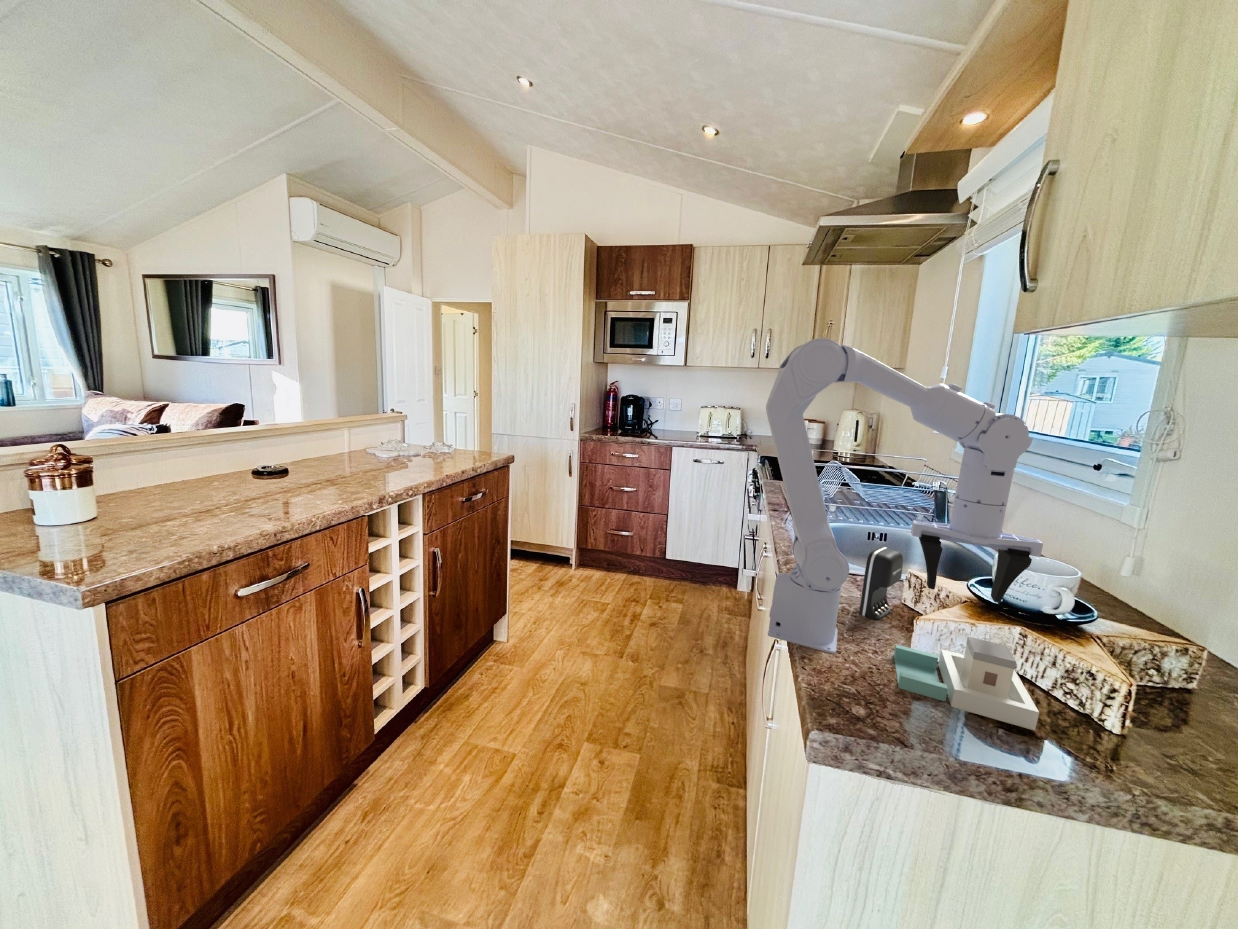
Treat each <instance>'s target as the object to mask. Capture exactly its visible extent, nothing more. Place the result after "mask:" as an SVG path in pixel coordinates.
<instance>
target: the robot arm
mask: <svg viewBox="0 0 1238 929" xmlns="http://www.w3.org/2000/svg"><path fill="white" fill-rule="evenodd" d="M833 383H855V384H859V385H861V386H863V387H865V388H867V389H869V390H872V391H873V392H876V393H879V394H881V395H883V396H885V397H887V398H889V399H891V400H894V401H896V402H898V403H901V404H903V405H905V406H907V407H909V409H910V411H911V415H912V418H913V420H914V421H915V422H917V423H918V424H921V425H923V426H924V427H927V428H929V429H931V430H933V431H934V432H937V433H938V434H941V435H943V436H945V437H948V438H949V439H950V440H953V441H955V442H958V444H959V445H960V447H962V449H963V455H962V458H961V459H962V460H961V464H960V469H959V475H958V480H957V483H956V484H957V485H956V490H955V496H954V499H953V500H954V501H953V508H952V511H951V516H950V517H951V518H950V523H945V522H944V523H943V522H931V521H920V520H912V524H911V529H910V530H911V531H910V533H911V536H912V537H916V538H918V540H919V544H920V546H921V549H922V553H923V556H924V561H925V566H926V568H925V570H926V586H927V589H929V590H935V589H936V584H937V576H938V567H939V564H940V559H941V556H942V553H943V547H942V541H948V542H953V543H959V544H960V543H961V544H966V545H971V546H972V545H973V546H978V547H985V548H990V549H995V550H996V549H997V562H996V571H995V575H994V578H993V579H994V580H993V583H992V586H991V590H990V591H991V592H990V597H991V599H992V600H993V602H994V603H998V604H1001V602H1002V601H1003V598H1004V596H1005V594H1006V593H1007V591H1008V590H1009V588H1010V587H1011V585H1012V584H1013V583H1014V581H1015V580H1016V579H1017V578H1018V577H1019V576H1020V575H1021V574H1022V573H1024V572H1025V571H1026V570H1027V569H1028V568H1029V567H1030V566H1031V564H1032V561H1033V559H1032V558H1031V557H1030V556H1032V557H1038V558H1041V556H1042V550H1043V546H1044V543H1043V542H1042V541H1041V540H1040V539H1037V538H1032V537H1026V536H1022V535H1017V534H1012V533H1007V532H1002V531H1003V525H1004V520H1005V515H1006V511H1007V507H1008V506H1007V505H1008V502H1009V496H1010V491H1011V488H1012V487H1011V486H1012V481H1013V477H1014V473H1015V469H1016V468H1017V462H1018V459H1019V458H1020V456H1022V455H1023V454H1024V453H1025V452H1026V451H1027V450H1028V449H1029V448H1030V446H1031V445H1032V443H1033V440H1034V439H1033V437H1031V436H1030V432H1029V431H1030V430H1029V427H1028V425H1025V424H1026V422H1025V420H1023V419H1022V418H1021V417H1019V416H1017V415H1014V414H1009V413H1000V412H999V413H997V412H996V410H995V408H996V404H994V403H991V402H990V401H984V402H981V401H978V400H977V399H975V398H972V397H970V396H969V395H966V394H964V393H963V392H961V391H962V390H963V387H962V386H960V385H958V384H955V383H948V384H947V385H946V384H944V383H936V384H933V385H929V386H925V385H923V384H921V383H919V382H917V381H916V380H914V379H912V378H911V377H908V376H907V375H904V374H903V373H901V372H899V371H898V370H896V369H894V368H892V367H890V366H888V365H886V364H885V363H883V362H882V361H879V360H878V359H876V358H874V357H872V356H870V355H868V354H866V353H864V352H862V351H860V350H858V349H855V348H854V347H851V346H849V345H848V346H847V345H844V344H843V345H840V343H838V342H836V341H835V340H833V339H830V338H827V337H819V338H814V339H811V340H809V341H807V342H805V343H804V344H800V345H798V346H796V347H795V348H793V350H792V351H790V353H789V354H788V355H787V356H786V357H785V359H784V360H783V361H782V362H781V364H780V365H779V368H778V371H777V375H776V378H775V380H774V383H773V385H772V389H771V391H770V393H769V396H768V398H767V401H766V404H765V412H766V416H767V420H768V423H769V429H770V432H771V436H772V440H773V444H774V448H775V449H774V450H775V454H776V457H777V461H778V464H779V469H780V473H781V477H782V481H783V485H784V490H785V493H786V494H785V495H786V499H787V501H788V502H787V503H788V506H789V511H790V514H791V518H792V529H793V534H794V539H793V543H792V547H791V552H792V555H793V558H794V559H795V561H796V564H794V567H793V568H792V570H791V571H790V573H782V572H778V573H777V574H776V578H775V581H774V586H773V587H774V588H773V593H772V599H771V605H770V606H771V607H770V610H769V626H768V631H767V636H768V637H770V638H774V639H778V640H781V641H785V642H789V643H793V644H797V645H799V646H802V647H807V648H811V649H815V650H819V651H821V652H825V653H828V654H833V655H834V654H836V653H837V647H838V631H839V630H838V627H837V621H838V615H839V608H840V601H841V594H842V589H843V588H842V587H843V584H844V583H845V582H846V581H847V579H848V577H849V573H850V564H849V562H848V560H847V558H846V556H845V555H844V554H843V553H842V552H841V550H840V548H838V545H837V542H836V538H835V534H834V533H833V530H832V527H831V525H830V522H829V520H828V515H827V511H826V506H825V503H824V499H823V494H822V490H821V486H820V481H819V478H818V473H817V469H816V466H815V459H814V457H813V451H812V449H811V447H812V446H811V443H810V438H809V436H808V431H807V426H806V423H805V418H804V413H805V411H806V410H807V409H808V408H809V406H810V405H811V404H812V402H813V401H814V399H816V397H817V396H818V394H820V393H821V392H822V391H824V390H825V389H827V388H828V387H829V386H831V385H832V384H833ZM941 540H942V541H941Z"/></svg>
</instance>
